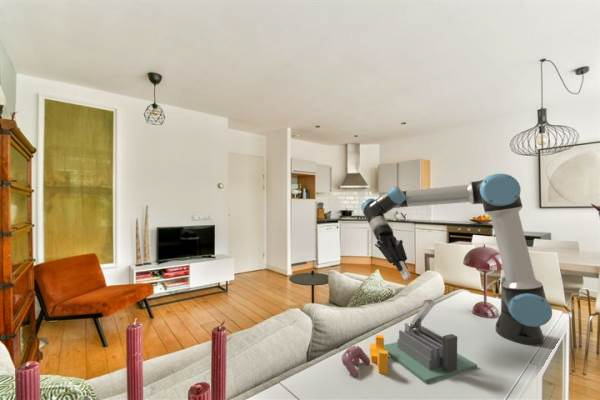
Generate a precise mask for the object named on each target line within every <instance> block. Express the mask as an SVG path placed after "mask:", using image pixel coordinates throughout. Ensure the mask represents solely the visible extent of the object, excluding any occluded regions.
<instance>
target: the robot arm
mask: <svg viewBox="0 0 600 400" xmlns="http://www.w3.org/2000/svg"><path fill="white" fill-rule="evenodd" d="M521 191H522V190H521V185H520V182H518V180H517V179H516V178H515V177H513V176H512V175H510V174H507V173H501V172H500V173H494V174H491V175H488V176H486V177H485V178H484V179H481V180H476V181H469V183H467V184H460V185H451V186H442V187H440V186H439V187H433V188H423V189H414V190H403V191H402V190H401V189H400V187H398V186H396V185H395V186H393V187H392V188H390V189H388V190H387V191H386V192H384V193H383V194H382V195H380V196H379V197H378V198H376V199H374V198H367V199H365V200H363V202H362V203H361V205H360V208H361V210H362V214H363V215H364V217H365V219H366V221H367V222H368V225H369V227H370V229H371V230H372V232H373V235H374V237H375V239H376V240H377V241H376V242H375V244H374V246H375V247H376V248H377V249H378V250H379V251H380V253H382V255H383V256H384V257H385V259H386V260H387V262H388V263H390V264H392V265H393V267H395V268H396V269H397V271H398V272H399V273H400V274H401V277H402V278H403V280H406V281H407V280H409V278H411V277H412V275H411V272H409V270H408V269H409V268H408V267H409V266H408V265H407V264H406V261H407V259H408V257H407V253H406V250H405V247H404V244H403V243H404V241H403V240H402V239H400V240H398V239H397V237H396V236H395V235H394V231H393V229H392V227H391V225H390V224H389V222H388V220H387V218H386V217H385V214H387V213H388V212H390V211H392V210H393V209H399V208H408V207H422V206H436V205H448V204H450V205H451V204H460V203H462V204H463V203H470V204H472V205H480V204H481V205H482V206H483V211H484V213H485V214H486V215H487V216H490V219H491V220H490V221H491V224H492V228H493V233H494V236H495V241H496V244H497V249H498V252H499V257H500V261H501V265H502V268H503V269H502V270H503V272H504V276H503V277H501V282H500V285H501V293H500V297H501V301H500V314H499V316H498V318H497V321H496V323H495V333H497V335H499V336H501V337H502V338H505V339H507V340H509V341H512V342H515V343H518V344H523V345H524V344H525V345H529V344H539V345H542V344H544V334H543V331H542V328H541V327H542V326H544V325H547V323H549V322H550V320H551V319H552V317H553V310H552V309H553V308H552V306H551V304H550V302H549V301H548V300H547V297H546V293H545V292H546V291H545V289H544V285H543V282H541V281H539V280H538V279H536V275H535V272H534V267H533V263H532V260H531V256H530V252H529V247H528V245H527V240H526V236H525V233H524V229H523V225H522V224H523V223H522V221H521V218H520V217H521V216H520V211H521V210H522V208H523V203H522V199H521Z"/></svg>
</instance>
